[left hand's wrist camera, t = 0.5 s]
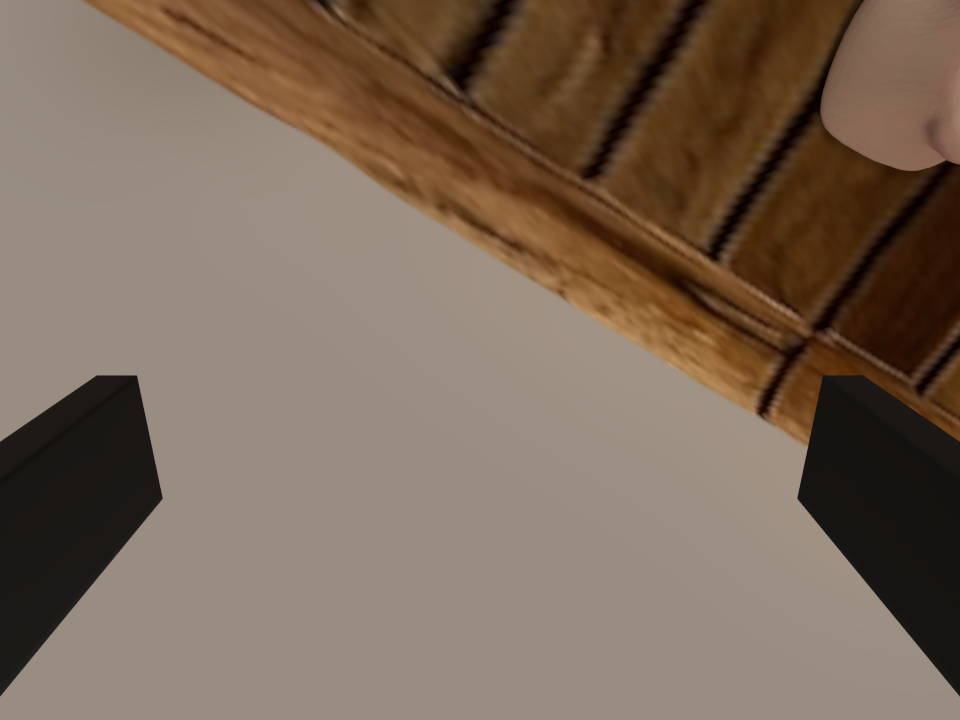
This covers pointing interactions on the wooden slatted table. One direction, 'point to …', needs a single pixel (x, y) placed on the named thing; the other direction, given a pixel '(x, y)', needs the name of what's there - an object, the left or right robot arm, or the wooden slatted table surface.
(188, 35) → the wooden slatted table surface
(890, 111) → the anatomical model
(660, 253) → the wooden slatted table surface
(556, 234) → the wooden slatted table surface
